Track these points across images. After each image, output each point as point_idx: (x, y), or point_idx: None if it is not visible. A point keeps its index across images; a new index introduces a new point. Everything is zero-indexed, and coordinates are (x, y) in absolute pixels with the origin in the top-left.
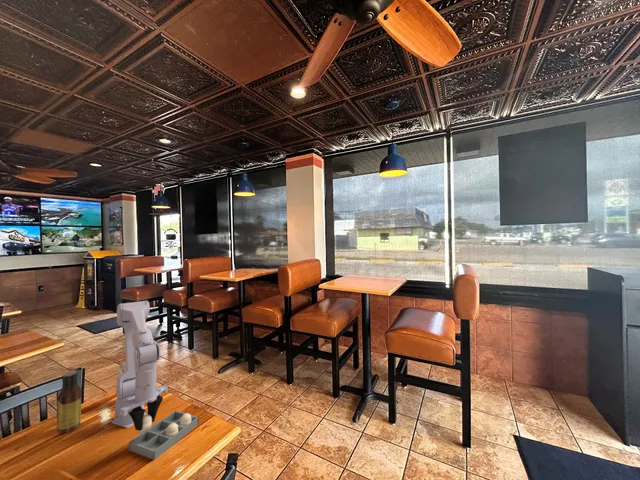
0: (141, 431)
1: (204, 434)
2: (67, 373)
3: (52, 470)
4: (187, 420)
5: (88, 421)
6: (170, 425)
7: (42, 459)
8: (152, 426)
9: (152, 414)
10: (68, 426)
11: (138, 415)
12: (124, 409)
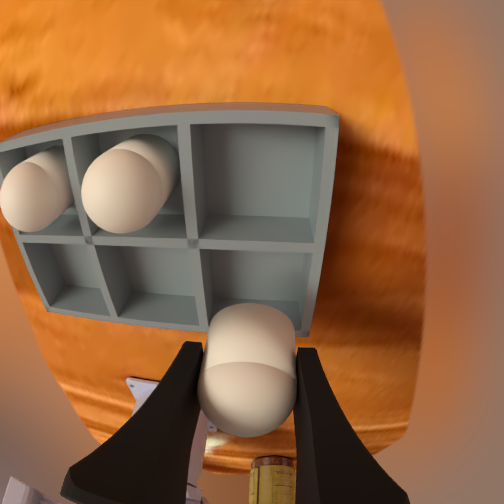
0: (293, 337)
1: (50, 32)
2: None
3: (402, 400)
4: (29, 167)
5: (239, 454)
6: (119, 209)
7: (367, 433)
8: (170, 327)
9: (186, 400)
10: (285, 469)
11: (396, 487)
12: None
